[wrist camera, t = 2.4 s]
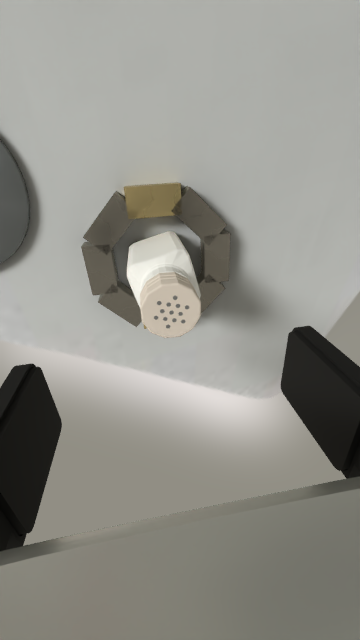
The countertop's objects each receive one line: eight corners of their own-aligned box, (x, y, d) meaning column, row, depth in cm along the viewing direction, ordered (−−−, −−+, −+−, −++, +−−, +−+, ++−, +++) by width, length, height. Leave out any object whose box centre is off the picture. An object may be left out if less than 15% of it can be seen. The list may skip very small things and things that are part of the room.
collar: (226, 178, 20) (232, 179, 18) (222, 311, 25) (227, 318, 24) (72, 189, 19) (68, 191, 17) (103, 325, 24) (101, 333, 23)
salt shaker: (174, 227, 21) (198, 264, 13) (188, 273, 23) (217, 331, 15) (126, 243, 21) (119, 290, 13) (144, 288, 23) (148, 354, 15)
